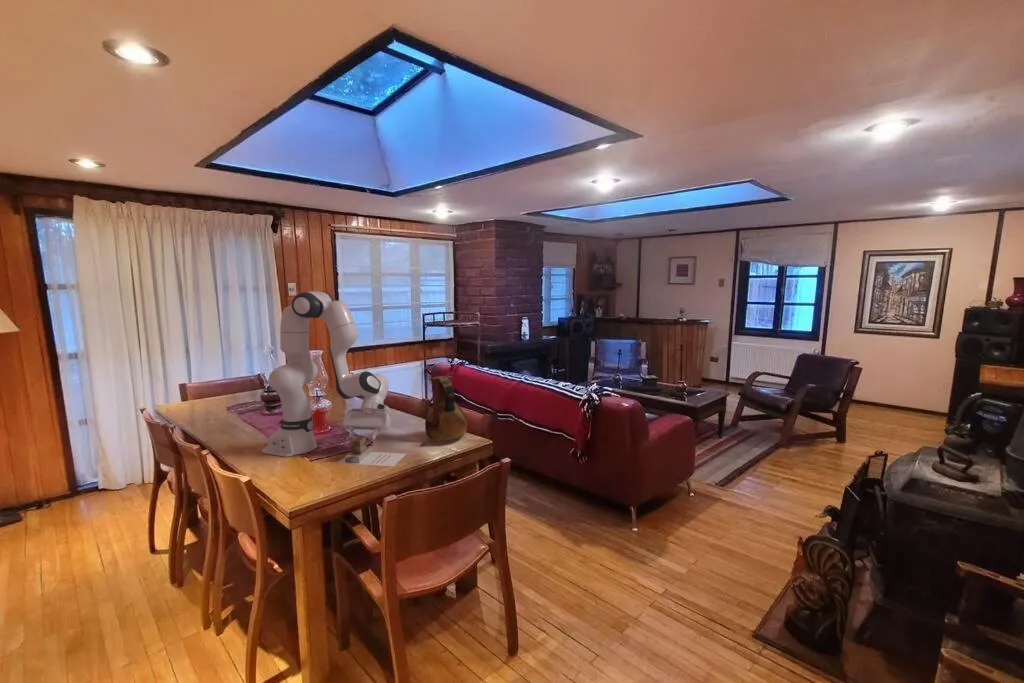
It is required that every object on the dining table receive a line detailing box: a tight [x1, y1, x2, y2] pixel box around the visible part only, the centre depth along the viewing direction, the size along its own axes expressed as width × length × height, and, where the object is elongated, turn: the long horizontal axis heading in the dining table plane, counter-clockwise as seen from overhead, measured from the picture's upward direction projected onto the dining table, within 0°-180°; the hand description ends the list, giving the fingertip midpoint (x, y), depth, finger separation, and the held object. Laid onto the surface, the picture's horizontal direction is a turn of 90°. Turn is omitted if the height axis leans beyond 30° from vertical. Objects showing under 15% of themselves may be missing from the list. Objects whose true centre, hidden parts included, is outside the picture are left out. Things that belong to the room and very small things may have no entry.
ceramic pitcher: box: [424, 375, 468, 441], centre depth 207 cm, size 20×20×30 cm
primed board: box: [337, 451, 407, 467], centre depth 182 cm, size 24×13×2 cm, turn 81°
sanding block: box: [344, 436, 373, 463], centre depth 182 cm, size 6×11×8 cm, turn 171°
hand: (361, 438), depth 184 cm, fingers open, 8 cm apart
